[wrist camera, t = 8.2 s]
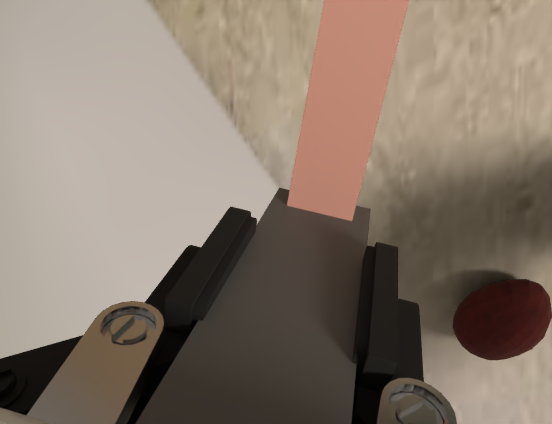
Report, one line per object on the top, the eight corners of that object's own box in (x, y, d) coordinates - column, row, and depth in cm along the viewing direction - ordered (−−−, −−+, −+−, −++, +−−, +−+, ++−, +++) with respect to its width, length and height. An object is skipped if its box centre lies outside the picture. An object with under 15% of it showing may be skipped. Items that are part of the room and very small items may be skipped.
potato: (434, 295, 45) (439, 336, 40) (518, 250, 41) (535, 290, 36) (479, 342, 47) (489, 388, 42) (564, 304, 42) (587, 350, 37)
